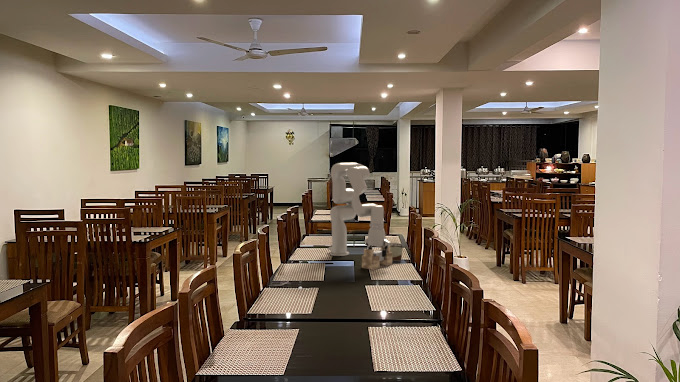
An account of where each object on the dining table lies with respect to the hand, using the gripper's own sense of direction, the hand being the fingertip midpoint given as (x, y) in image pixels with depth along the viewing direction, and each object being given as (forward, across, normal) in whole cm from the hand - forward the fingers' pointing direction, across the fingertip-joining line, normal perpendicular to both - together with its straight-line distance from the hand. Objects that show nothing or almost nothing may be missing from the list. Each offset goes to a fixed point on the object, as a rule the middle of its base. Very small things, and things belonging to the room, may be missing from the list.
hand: (377, 255), depth 295 cm
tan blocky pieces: (+6, 0, 0) cm, 6 cm away
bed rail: (+3, 0, 0) cm, 3 cm away
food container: (+6, -1, +19) cm, 20 cm away
